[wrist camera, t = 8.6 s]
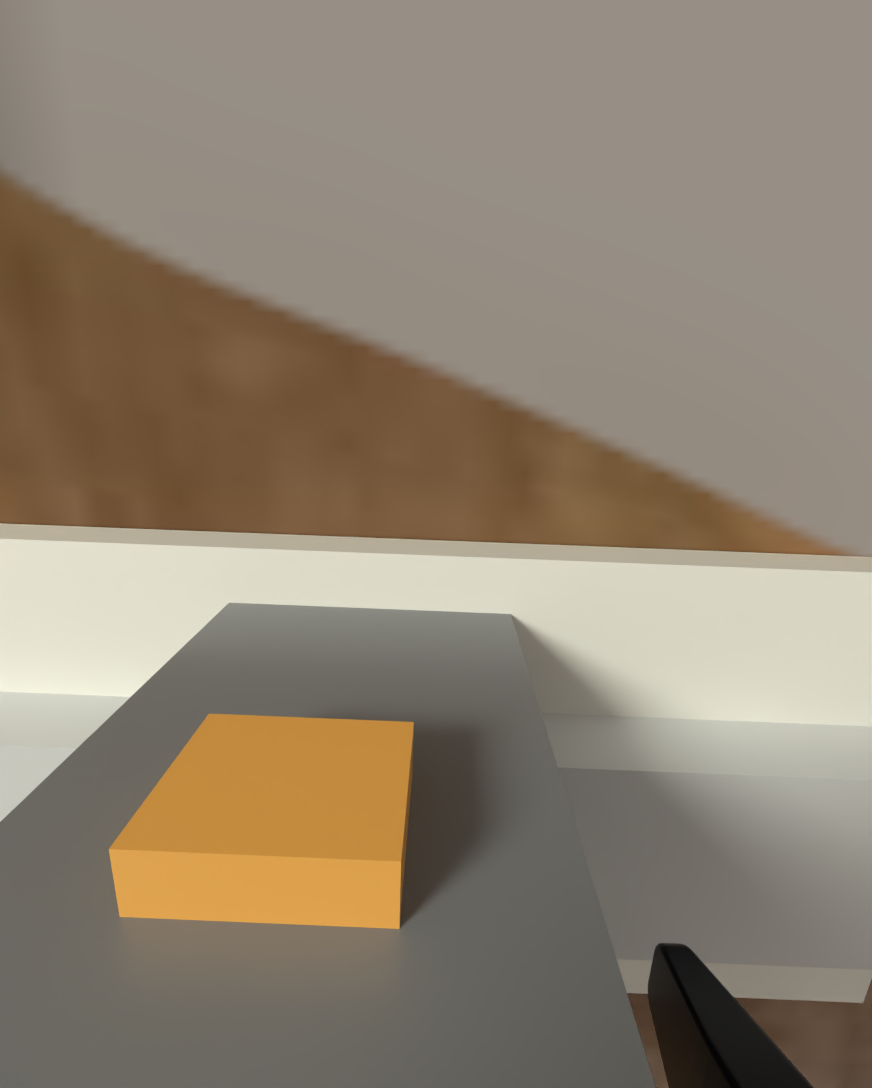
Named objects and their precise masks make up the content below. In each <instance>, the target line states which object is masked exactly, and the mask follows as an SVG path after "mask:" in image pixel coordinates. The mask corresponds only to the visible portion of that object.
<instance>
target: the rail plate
mask: <svg viewBox="0 0 872 1088" xmlns="http://www.w3.org/2000/svg"><path fill="white" fill-rule="evenodd" d="M228 603H251V604H276V605H301V606H325V607H350V608H375V609H399V610H424V611H449V612H473V613H498V614H511V617H512V620H513V623H514V626H515V630H516V633H517V636H518V639H519V643H520V646H521V649H522V652H523V656H524V659H525V662H526V666H527V669H528V672H529V675H530V679H531V682H532V685H533V688H534V692H535V695H536V698H537V701H538V705H539V708H540V711H541V714H542V718H543V721H544V724H545V727H546V731H547V734H548V737H549V740H550V744H551V747H552V750H553V754H554V757H555V760H556V763H557V767H558V770H559V773H560V776H561V780H562V783H563V786H564V789H565V793H566V796H567V799H568V802H569V806H570V809H571V812H572V815H573V819H574V822H575V825H576V828H577V832H578V835H579V838H580V842H581V845H582V848H583V851H584V855H585V858H586V861H587V864H588V868H589V871H590V874H591V877H592V881H593V884H594V887H595V890H596V894H597V897H598V900H599V903H600V907H601V910H602V913H603V916H604V920H605V923H606V926H607V930H608V933H609V936H610V939H611V943H612V946H613V949H614V952H615V956H616V959H617V962H618V965H619V969H620V972H621V975H622V978H623V982H624V985H625V988H626V991H627V993H640V994H648V980H649V975H650V970H651V965H652V960H653V954H654V950H655V947H656V946H657V945H658V944H659V943H679V944H684V945H686V946H688V947H689V948H690V949H691V950H692V951H693V952H694V953H695V954H696V955H697V956H698V957H699V959H700V960H701V961H702V962H703V963H704V964H705V965H706V966H707V968H708V969H709V970H710V971H711V972H712V973H713V974H714V975H715V977H716V978H717V979H718V980H719V981H720V982H721V983H722V985H723V986H724V987H725V988H726V989H727V990H728V991H729V992H730V994H731V995H732V996H733V997H734V998H758V999H782V1000H805V1001H829V1002H853V1003H863V1002H864V999H865V997H866V994H867V991H868V988H869V985H870V982H871V979H872V557H855V556H829V555H803V554H777V553H751V552H725V551H700V550H674V549H648V548H622V547H596V546H570V545H544V544H518V543H492V542H466V541H441V540H415V539H389V538H363V537H337V536H311V535H285V534H259V533H233V532H207V531H182V530H156V529H130V528H104V527H78V526H52V525H26V524H0V822H1V821H2V820H3V819H4V818H5V817H6V816H7V815H8V814H9V813H10V812H11V811H12V810H13V809H14V808H15V807H16V806H17V805H18V804H19V803H20V802H22V801H23V800H24V799H25V798H26V797H27V796H28V795H29V794H30V793H31V792H32V791H33V790H34V789H35V788H36V787H37V786H38V785H39V784H40V783H41V782H42V781H43V780H44V779H46V778H47V777H48V776H49V775H50V774H51V773H52V772H53V771H54V770H55V769H56V768H57V767H58V766H59V765H60V764H61V763H62V762H63V761H64V760H65V759H66V758H67V757H68V756H70V755H71V754H72V753H73V752H74V751H75V750H76V749H77V748H78V747H79V746H80V745H81V744H82V743H83V742H84V741H85V740H86V739H87V738H88V737H89V736H90V735H91V734H92V733H94V732H95V731H96V730H97V729H98V728H99V727H100V726H101V725H102V724H103V723H104V722H105V721H106V720H107V719H108V718H109V717H110V716H111V715H112V714H113V713H114V712H115V711H116V710H118V709H119V708H120V707H121V706H122V705H123V704H124V703H125V702H126V701H127V700H128V699H129V698H130V697H131V696H132V695H133V694H134V693H135V692H136V691H137V690H138V689H139V688H140V687H142V686H143V685H144V684H145V683H146V682H147V681H148V680H149V679H150V678H151V677H152V676H153V675H154V674H155V673H156V672H157V671H158V670H159V669H160V668H161V667H162V666H163V665H164V664H166V663H167V662H168V661H169V660H170V659H171V658H172V657H173V656H174V655H175V654H176V653H177V652H178V651H179V650H180V649H181V648H182V647H183V646H184V645H185V644H186V643H187V642H188V641H190V640H191V639H192V638H193V637H194V636H195V635H196V634H197V633H198V632H199V631H200V630H201V629H202V628H203V627H204V626H205V625H206V624H207V623H208V622H209V621H210V620H211V619H212V618H213V617H215V616H216V615H217V614H218V613H219V612H220V611H221V610H222V609H223V608H224V607H225V606H226V605H227V604H228Z"/></svg>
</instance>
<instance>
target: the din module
mask: <svg viewBox="0 0 872 1088" xmlns="http://www.w3.org/2000/svg"><path fill="white" fill-rule="evenodd" d="M0 1088H656V1086H655V1083H654V1079H653V1076H652V1073H651V1070H650V1066H649V1063H648V1060H647V1057H646V1053H645V1050H644V1047H643V1044H642V1040H641V1037H640V1034H639V1031H638V1027H637V1024H636V1021H635V1018H634V1014H633V1011H632V1008H631V1005H630V1001H629V998H628V995H627V991H626V988H625V985H624V982H623V978H622V975H621V972H620V969H619V965H618V962H617V959H616V956H615V952H614V949H613V946H612V943H611V939H610V936H609V933H608V930H607V926H606V923H605V920H604V916H603V913H602V910H601V907H600V903H599V900H598V897H597V894H596V890H595V887H594V884H593V881H592V877H591V874H590V871H589V868H588V864H587V861H586V858H585V855H584V851H583V848H582V845H581V842H580V838H579V835H578V832H577V828H576V825H575V822H574V819H573V815H572V812H571V809H570V806H569V802H568V799H567V796H566V793H565V789H564V786H563V783H562V780H561V776H560V773H559V770H558V767H557V763H556V760H555V757H554V754H553V750H552V747H551V744H550V740H549V737H548V734H547V731H546V727H545V724H544V721H543V718H542V714H541V711H540V708H539V705H538V701H537V698H536V695H535V692H534V688H533V685H532V682H531V679H530V675H529V672H528V669H527V666H526V662H525V659H524V656H523V652H522V649H521V646H520V643H519V639H518V636H517V633H516V630H515V626H514V623H513V620H512V617H511V614H498V613H473V612H449V611H424V610H399V609H375V608H350V607H325V606H301V605H276V604H251V603H228V604H227V605H226V606H225V607H224V608H223V609H222V610H221V611H220V612H219V613H218V614H217V615H216V616H215V617H213V618H212V619H211V620H210V621H209V622H208V623H207V624H206V625H205V626H204V627H203V628H202V629H201V630H200V631H199V632H198V633H197V634H196V635H195V636H194V637H193V638H192V639H191V640H190V641H188V642H187V643H186V644H185V645H184V646H183V647H182V648H181V649H180V650H179V651H178V652H177V653H176V654H175V655H174V656H173V657H172V658H171V659H170V660H169V661H168V662H167V663H166V664H164V665H163V666H162V667H161V668H160V669H159V670H158V671H157V672H156V673H155V674H154V675H153V676H152V677H151V678H150V679H149V680H148V681H147V682H146V683H145V684H144V685H143V686H142V687H140V688H139V689H138V690H137V691H136V692H135V693H134V694H133V695H132V696H131V697H130V698H129V699H128V700H127V701H126V702H125V703H124V704H123V705H122V706H121V707H120V708H119V709H118V710H116V711H115V712H114V713H113V714H112V715H111V716H110V717H109V718H108V719H107V720H106V721H105V722H104V723H103V724H102V725H101V726H100V727H99V728H98V729H97V730H96V731H95V732H94V733H92V734H91V735H90V736H89V737H88V738H87V739H86V740H85V741H84V742H83V743H82V744H81V745H80V746H79V747H78V748H77V749H76V750H75V751H74V752H73V753H72V754H71V755H70V756H68V757H67V758H66V759H65V760H64V761H63V762H62V763H61V764H60V765H59V766H58V767H57V768H56V769H55V770H54V771H53V772H52V773H51V774H50V775H49V776H48V777H47V778H46V779H44V780H43V781H42V782H41V783H40V784H39V785H38V786H37V787H36V788H35V789H34V790H33V791H32V792H31V793H30V794H29V795H28V796H27V797H26V798H25V799H24V800H23V801H22V802H20V803H19V804H18V805H17V806H16V807H15V808H14V809H13V810H12V811H11V812H10V813H9V814H8V815H7V816H6V817H5V818H4V819H3V820H2V821H1V822H0Z"/></svg>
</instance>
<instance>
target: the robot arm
mask: <svg viewBox="0 0 872 1088" xmlns="http://www.w3.org/2000/svg"><path fill="white" fill-rule="evenodd" d="M648 999H649V1005H650V1010H651V1014H652V1018H653V1022H654V1027H655V1031H656V1035H657V1039H658V1044H659V1048H660V1052H661V1056H662V1061H663V1065H664V1069H665V1073H666V1078H667V1082H668V1086H669V1088H813V1086H812V1085H811V1084H810V1083H809V1082H808V1081H807V1080H806V1078H805V1077H804V1076H803V1075H802V1074H801V1073H800V1072H799V1071H798V1069H797V1068H796V1067H795V1066H794V1065H793V1064H792V1063H791V1061H790V1060H789V1059H788V1058H787V1057H786V1056H785V1055H784V1054H783V1052H782V1051H781V1050H780V1049H779V1048H778V1047H777V1046H776V1045H775V1043H774V1042H773V1041H772V1040H771V1039H770V1038H769V1037H768V1035H767V1034H766V1033H765V1032H764V1031H763V1030H762V1029H761V1028H760V1026H759V1025H758V1024H757V1023H756V1022H755V1021H754V1020H753V1018H752V1017H751V1016H750V1015H749V1014H748V1013H747V1012H746V1011H745V1009H744V1008H743V1007H742V1006H741V1005H740V1004H739V1003H738V1002H737V1000H736V999H735V998H734V997H733V996H732V995H731V994H730V992H729V991H728V990H727V989H726V988H725V987H724V986H723V985H722V983H721V982H720V981H719V980H718V979H717V978H716V977H715V975H714V974H713V973H712V972H711V971H710V970H709V969H708V968H707V966H706V965H705V964H704V963H703V962H702V961H701V960H700V959H699V957H698V956H697V955H696V954H695V953H694V952H693V951H692V950H691V949H690V948H689V947H688V946H686V945H684V944H679V943H659V944H658V945H657V946H656V947H655V950H654V954H653V960H652V965H651V970H650V975H649V980H648Z"/></svg>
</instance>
